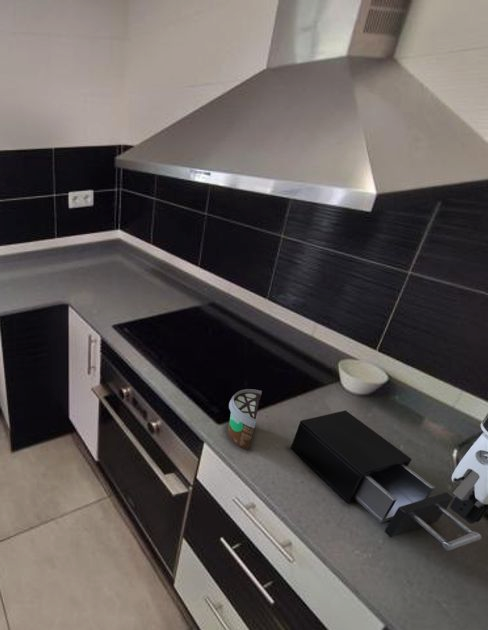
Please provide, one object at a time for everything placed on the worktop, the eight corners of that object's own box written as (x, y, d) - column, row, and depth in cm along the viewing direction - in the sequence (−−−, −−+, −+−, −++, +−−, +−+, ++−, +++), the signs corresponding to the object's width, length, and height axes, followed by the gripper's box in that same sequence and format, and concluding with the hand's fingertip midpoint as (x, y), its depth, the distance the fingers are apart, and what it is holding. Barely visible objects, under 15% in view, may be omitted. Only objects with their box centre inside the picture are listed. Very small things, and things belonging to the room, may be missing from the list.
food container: (227, 413, 99) (235, 382, 94) (253, 421, 96) (262, 389, 91) (218, 444, 89) (226, 411, 84) (246, 454, 86) (256, 421, 82)
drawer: (475, 553, 66) (496, 529, 62) (426, 572, 63) (445, 547, 60) (368, 465, 82) (380, 442, 79) (326, 477, 80) (337, 453, 77)
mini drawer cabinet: (394, 488, 78) (412, 459, 74) (346, 503, 75) (361, 473, 71) (333, 437, 91) (345, 410, 87) (290, 448, 88) (300, 420, 84)
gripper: (519, 463, 49) (455, 549, 57) (595, 438, 52) (525, 523, 61) (453, 423, 55) (404, 506, 64) (524, 403, 59) (469, 485, 67)
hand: (463, 514), depth 62 cm, fingers closed
